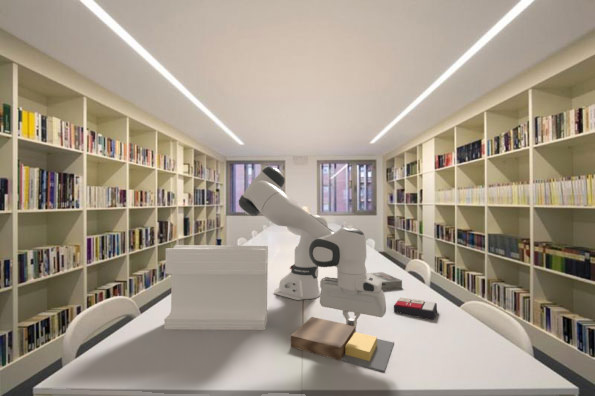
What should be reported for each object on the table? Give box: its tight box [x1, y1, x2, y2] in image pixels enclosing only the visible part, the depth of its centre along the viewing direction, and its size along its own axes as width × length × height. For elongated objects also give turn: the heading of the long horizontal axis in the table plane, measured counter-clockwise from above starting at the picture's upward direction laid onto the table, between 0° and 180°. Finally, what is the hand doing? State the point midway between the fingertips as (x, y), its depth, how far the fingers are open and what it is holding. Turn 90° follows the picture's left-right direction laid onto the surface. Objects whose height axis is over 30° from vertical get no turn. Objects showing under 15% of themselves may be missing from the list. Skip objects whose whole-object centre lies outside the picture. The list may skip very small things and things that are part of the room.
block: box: [163, 244, 269, 331], centre depth 103 cm, size 35×8×28 cm, turn 91°
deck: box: [290, 316, 357, 361], centre depth 91 cm, size 16×16×4 cm
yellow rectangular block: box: [344, 331, 378, 361], centre depth 85 cm, size 7×10×2 cm
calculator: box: [393, 297, 438, 321], centre depth 117 cm, size 11×4×15 cm
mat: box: [341, 338, 394, 373], centre depth 85 cm, size 12×17×1 cm
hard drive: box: [366, 271, 403, 291], centre depth 153 cm, size 18×27×4 cm
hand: (351, 325), depth 87 cm, fingers closed
